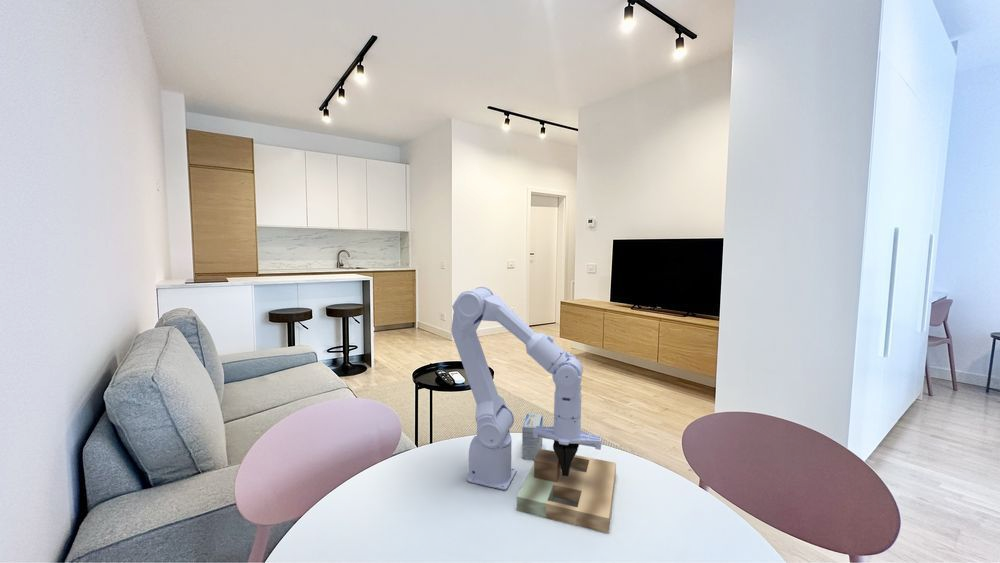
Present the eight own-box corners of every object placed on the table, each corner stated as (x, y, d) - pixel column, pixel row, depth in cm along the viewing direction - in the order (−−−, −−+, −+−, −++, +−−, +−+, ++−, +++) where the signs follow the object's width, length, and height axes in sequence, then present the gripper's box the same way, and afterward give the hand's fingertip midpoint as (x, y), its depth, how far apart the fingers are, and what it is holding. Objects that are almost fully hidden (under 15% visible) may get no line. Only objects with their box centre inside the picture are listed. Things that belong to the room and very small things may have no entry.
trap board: (516, 510, 79) (516, 496, 79) (540, 459, 98) (541, 448, 98) (608, 533, 73) (609, 518, 73) (615, 474, 92) (616, 462, 91)
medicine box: (539, 461, 97) (540, 427, 97) (521, 459, 98) (522, 426, 97) (542, 445, 105) (543, 414, 104) (526, 443, 106) (526, 412, 105)
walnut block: (534, 477, 85) (534, 460, 85) (539, 465, 90) (539, 448, 90) (556, 482, 84) (557, 464, 83) (561, 469, 88) (561, 453, 88)
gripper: (529, 415, 83) (528, 476, 84) (599, 427, 78) (597, 491, 79) (538, 403, 89) (537, 459, 91) (603, 413, 84) (601, 472, 86)
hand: (565, 473), depth 85 cm, fingers closed
